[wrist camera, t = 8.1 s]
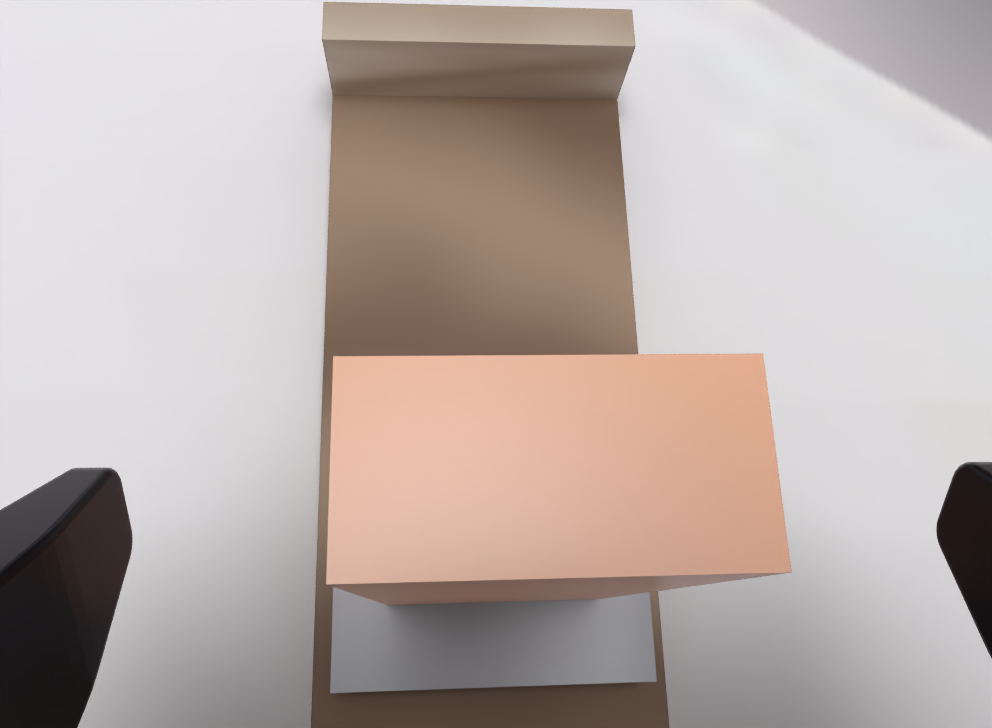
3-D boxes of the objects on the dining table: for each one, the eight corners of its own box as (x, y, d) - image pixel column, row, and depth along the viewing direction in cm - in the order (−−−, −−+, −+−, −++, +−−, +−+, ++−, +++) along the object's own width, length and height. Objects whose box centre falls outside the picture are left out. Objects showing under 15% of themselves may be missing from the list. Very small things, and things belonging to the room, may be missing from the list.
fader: (644, 677, 16) (932, 755, 7) (336, 688, 16) (189, 789, 6) (625, 430, 18) (841, 210, 8) (342, 433, 17) (231, 206, 8)
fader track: (662, 804, 17) (708, 841, 14) (314, 820, 16) (289, 862, 14) (606, 89, 22) (631, 9, 19) (338, 84, 21) (323, 1, 19)
